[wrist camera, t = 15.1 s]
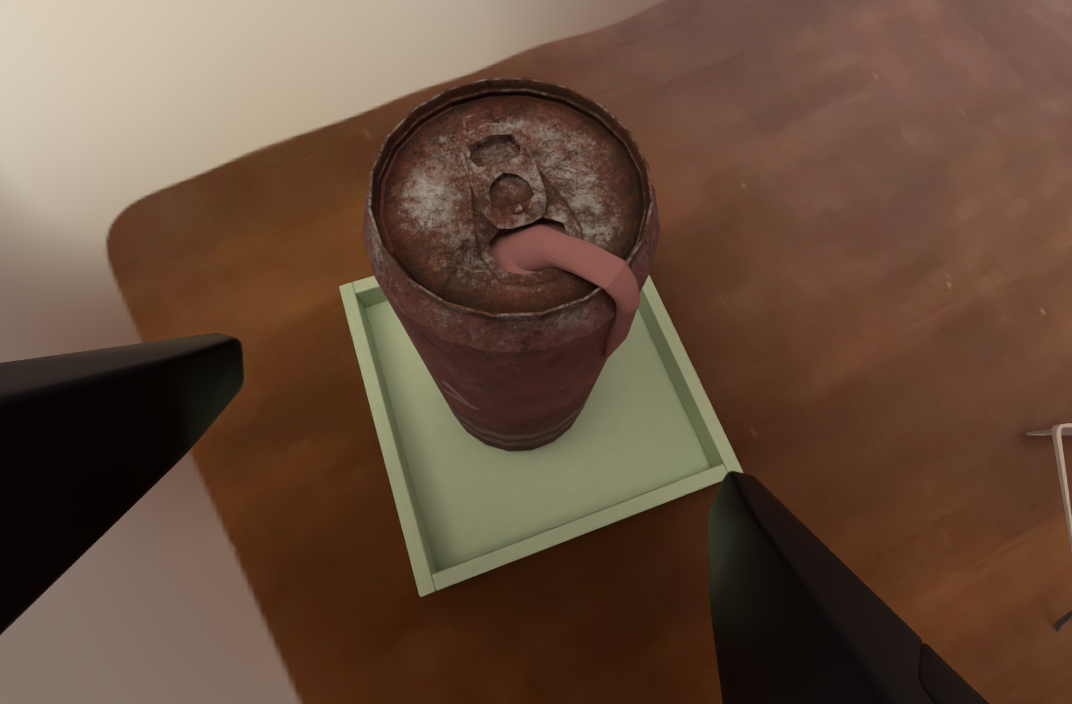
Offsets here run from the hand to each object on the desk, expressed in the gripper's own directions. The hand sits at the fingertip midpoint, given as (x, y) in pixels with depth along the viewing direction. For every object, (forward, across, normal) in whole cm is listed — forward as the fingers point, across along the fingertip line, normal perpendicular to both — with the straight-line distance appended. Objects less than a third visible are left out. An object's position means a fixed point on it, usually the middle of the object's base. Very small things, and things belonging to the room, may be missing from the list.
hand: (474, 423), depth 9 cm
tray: (+13, 0, +6) cm, 14 cm away
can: (+12, 0, +6) cm, 14 cm away
